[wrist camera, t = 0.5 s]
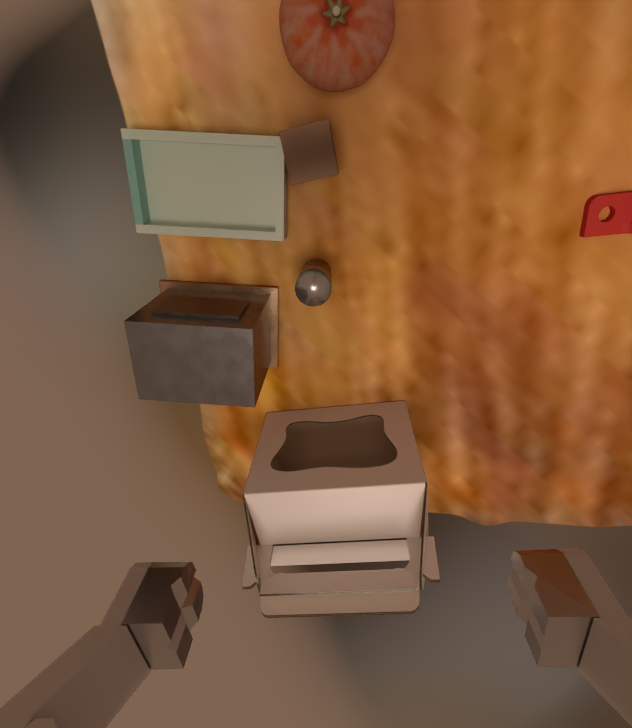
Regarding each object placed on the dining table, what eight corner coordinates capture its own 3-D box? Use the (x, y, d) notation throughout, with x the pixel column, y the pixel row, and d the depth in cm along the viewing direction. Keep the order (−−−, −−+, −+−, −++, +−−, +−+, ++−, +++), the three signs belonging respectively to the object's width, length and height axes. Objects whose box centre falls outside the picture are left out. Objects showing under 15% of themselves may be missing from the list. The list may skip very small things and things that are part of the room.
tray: (132, 129, 46) (120, 128, 44) (287, 137, 45) (284, 136, 43) (146, 229, 51) (136, 232, 49) (286, 237, 51) (283, 241, 48)
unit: (161, 279, 54) (113, 311, 43) (278, 286, 54) (261, 321, 42) (171, 358, 60) (132, 405, 48) (278, 365, 59) (263, 414, 48)
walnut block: (287, 135, 45) (278, 131, 39) (330, 123, 45) (328, 118, 38) (297, 182, 48) (290, 185, 41) (338, 172, 47) (338, 174, 41)
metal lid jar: (300, 257, 52) (295, 270, 45) (333, 259, 52) (332, 272, 45) (299, 288, 54) (294, 305, 47) (331, 290, 53) (329, 308, 47)
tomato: (329, 120, 45) (327, 113, 37) (263, 27, 41) (247, 0, 34) (411, 40, 41) (425, 16, 34) (345, -69, 37) (346, -122, 30)
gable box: (406, 399, 61) (452, 567, 36) (409, 466, 67) (450, 649, 42) (264, 412, 63) (215, 576, 38) (279, 475, 69) (245, 653, 44)
